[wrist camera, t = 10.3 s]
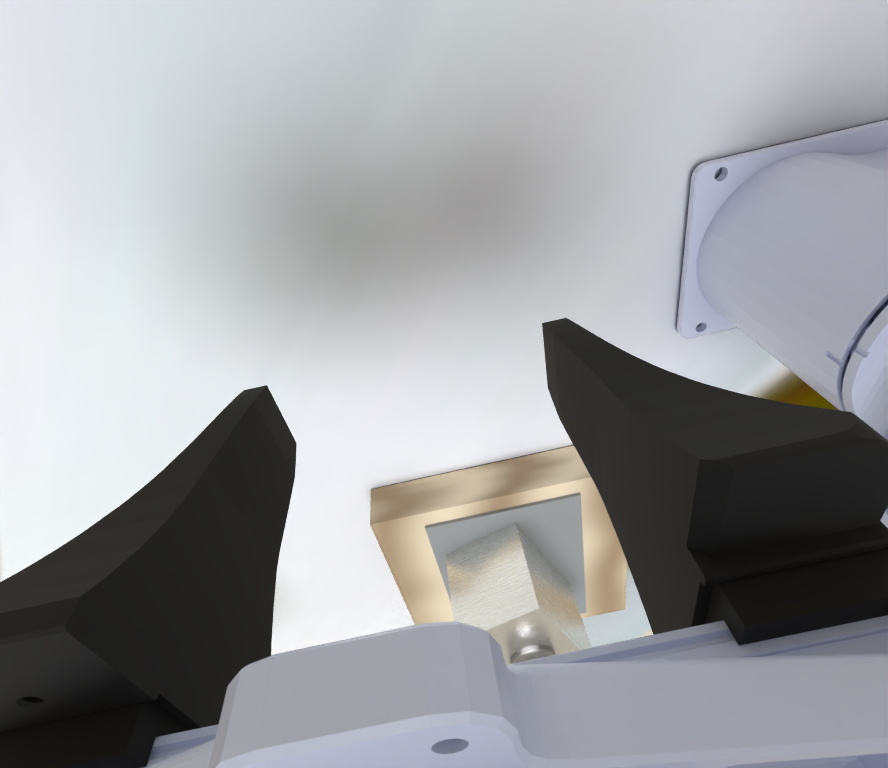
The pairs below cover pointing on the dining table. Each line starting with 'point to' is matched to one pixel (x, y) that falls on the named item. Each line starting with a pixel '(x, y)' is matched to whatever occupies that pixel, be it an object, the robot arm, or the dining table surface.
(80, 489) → the dining table surface
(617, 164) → the dining table surface
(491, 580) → the housing
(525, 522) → the stand
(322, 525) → the dining table surface
